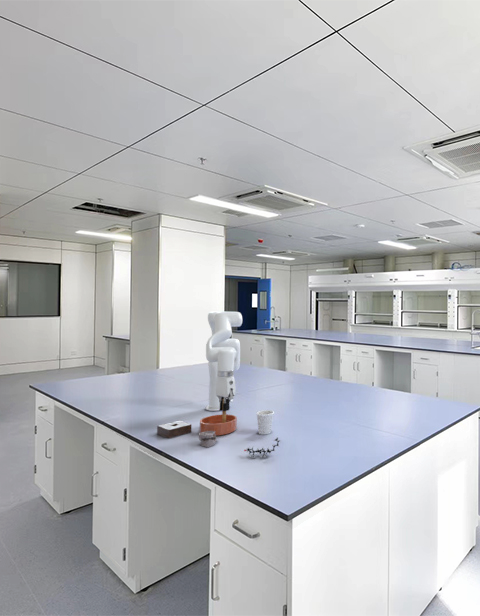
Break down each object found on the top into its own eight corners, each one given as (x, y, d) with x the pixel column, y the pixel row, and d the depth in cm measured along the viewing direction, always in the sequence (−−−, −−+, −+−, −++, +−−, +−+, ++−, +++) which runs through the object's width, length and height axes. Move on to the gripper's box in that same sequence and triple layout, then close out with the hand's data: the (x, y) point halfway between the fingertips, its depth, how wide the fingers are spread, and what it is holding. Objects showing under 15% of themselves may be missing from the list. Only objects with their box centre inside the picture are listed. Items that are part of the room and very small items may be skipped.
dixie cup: (256, 436, 181) (257, 415, 181) (254, 430, 189) (255, 411, 189) (274, 433, 185) (275, 413, 185) (272, 428, 193) (272, 409, 193)
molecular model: (245, 453, 159) (246, 434, 159) (281, 453, 161) (282, 434, 161) (241, 460, 153) (241, 440, 153) (278, 459, 155) (279, 439, 155)
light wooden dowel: (224, 426, 189) (225, 398, 189) (226, 426, 188) (227, 399, 188) (221, 427, 188) (221, 399, 188) (223, 427, 187) (224, 399, 187)
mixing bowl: (223, 423, 198) (223, 412, 198) (243, 429, 190) (243, 418, 190) (192, 432, 184) (192, 420, 184) (212, 439, 176) (212, 426, 176)
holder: (179, 428, 189) (179, 420, 189) (191, 432, 184) (191, 424, 184) (157, 434, 180) (157, 425, 180) (168, 438, 175) (168, 429, 175)
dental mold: (205, 440, 174) (205, 429, 174) (219, 441, 174) (219, 430, 174) (195, 446, 166) (195, 435, 166) (210, 447, 166) (210, 436, 166)
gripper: (241, 374, 187) (240, 411, 187) (222, 371, 195) (221, 406, 196) (228, 376, 181) (227, 414, 181) (209, 372, 189) (208, 409, 189)
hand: (224, 409), depth 188 cm, fingers closed on light wooden dowel, 1 cm apart
